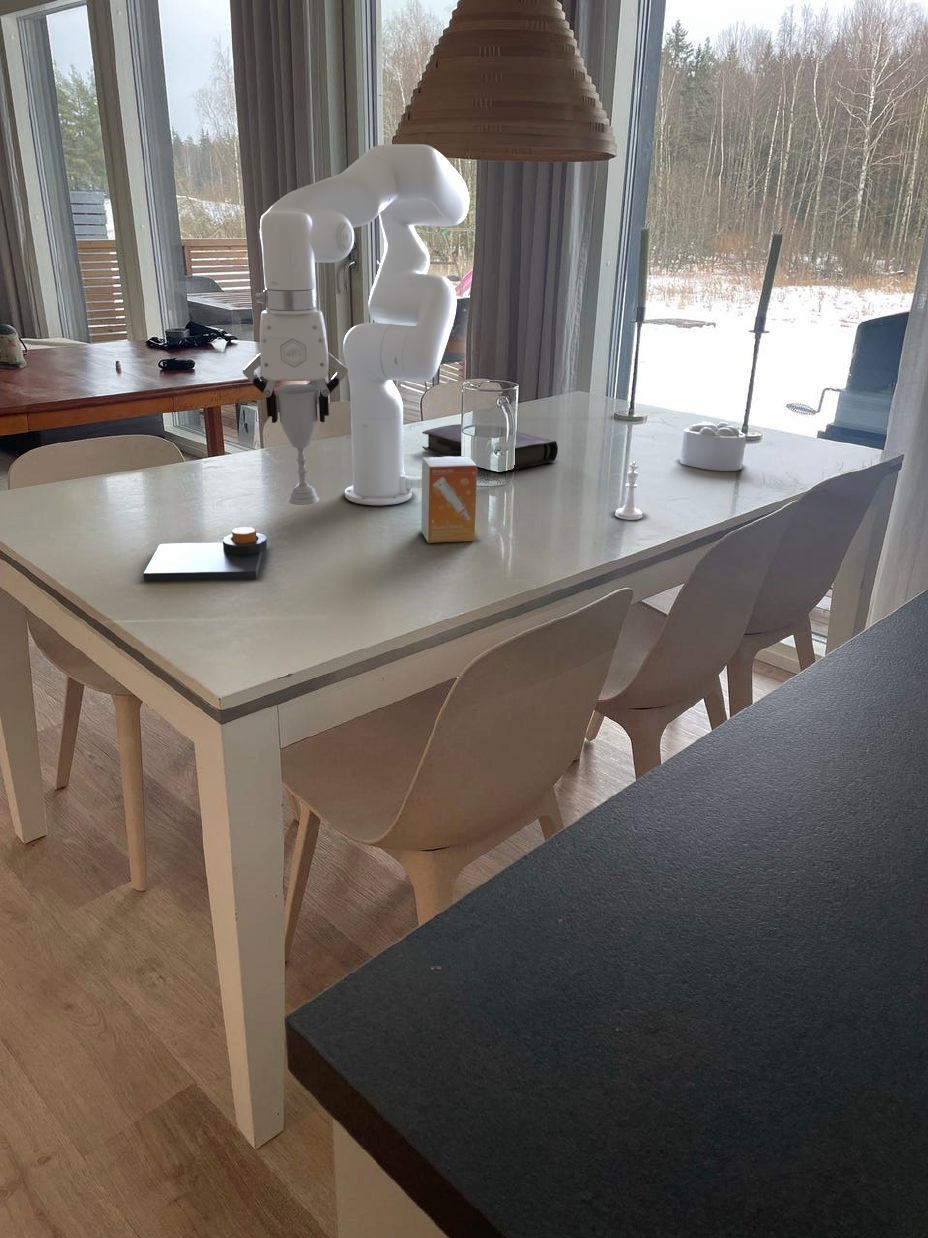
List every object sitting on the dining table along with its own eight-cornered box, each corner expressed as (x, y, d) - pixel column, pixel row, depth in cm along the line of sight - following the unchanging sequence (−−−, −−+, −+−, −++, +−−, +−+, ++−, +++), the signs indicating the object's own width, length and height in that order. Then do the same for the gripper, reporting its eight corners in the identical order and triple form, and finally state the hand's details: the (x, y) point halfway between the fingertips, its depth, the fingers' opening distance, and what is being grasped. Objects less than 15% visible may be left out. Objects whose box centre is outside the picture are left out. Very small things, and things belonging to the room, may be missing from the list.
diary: (480, 440, 221) (480, 419, 219) (557, 461, 204) (558, 438, 202) (419, 452, 209) (419, 429, 207) (496, 475, 192) (496, 451, 190)
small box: (427, 544, 152) (428, 466, 147) (420, 532, 158) (421, 456, 153) (475, 541, 154) (478, 464, 149) (467, 529, 160) (469, 454, 155)
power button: (257, 537, 146) (256, 526, 145) (255, 544, 143) (254, 533, 142) (234, 537, 146) (233, 526, 145) (231, 545, 142) (230, 534, 142)
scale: (268, 549, 149) (267, 531, 147) (261, 579, 137) (260, 560, 135) (161, 551, 147) (159, 533, 146) (144, 582, 135) (141, 563, 134)
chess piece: (625, 521, 166) (631, 466, 162) (609, 513, 170) (614, 459, 166) (647, 517, 168) (653, 463, 164) (631, 510, 172) (636, 457, 168)
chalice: (316, 508, 148) (309, 394, 140) (275, 505, 149) (267, 392, 141) (331, 495, 154) (325, 385, 147) (292, 492, 155) (284, 383, 148)
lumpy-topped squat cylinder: (697, 454, 212) (702, 416, 209) (750, 465, 204) (756, 426, 201) (674, 462, 205) (679, 423, 202) (728, 474, 197) (734, 433, 194)
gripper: (229, 304, 134) (240, 427, 142) (350, 304, 136) (354, 425, 144) (234, 298, 141) (245, 416, 148) (350, 298, 143) (354, 414, 150)
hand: (298, 419), depth 146 cm, fingers closed on chalice, 6 cm apart
